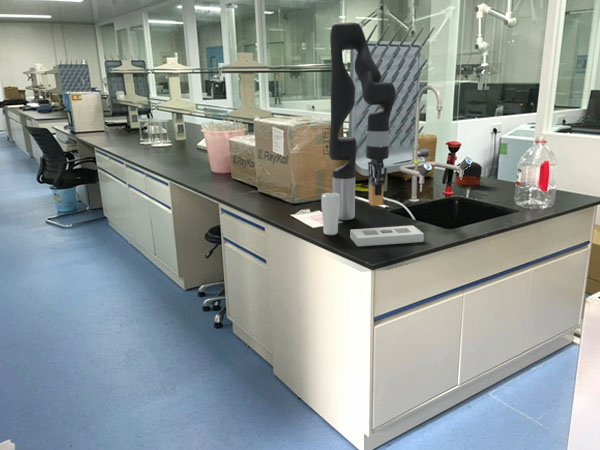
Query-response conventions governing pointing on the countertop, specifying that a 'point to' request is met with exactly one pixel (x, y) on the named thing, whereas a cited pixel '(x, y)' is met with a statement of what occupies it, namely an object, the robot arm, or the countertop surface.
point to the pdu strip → (386, 235)
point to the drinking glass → (330, 212)
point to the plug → (373, 198)
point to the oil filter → (469, 176)
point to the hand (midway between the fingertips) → (376, 193)
